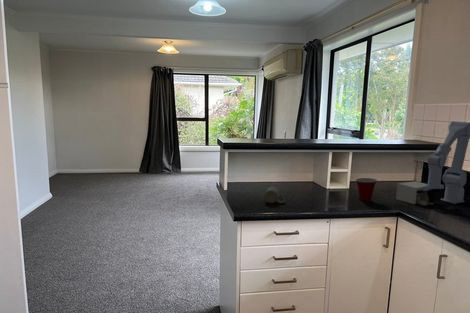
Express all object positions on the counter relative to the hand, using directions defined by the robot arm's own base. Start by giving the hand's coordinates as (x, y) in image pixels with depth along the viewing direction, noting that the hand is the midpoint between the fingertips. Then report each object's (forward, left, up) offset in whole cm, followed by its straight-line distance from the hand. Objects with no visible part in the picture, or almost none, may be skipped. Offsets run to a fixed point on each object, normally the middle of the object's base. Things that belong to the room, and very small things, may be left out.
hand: (431, 202), depth 170 cm
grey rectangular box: (0, -10, -1) cm, 10 cm away
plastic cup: (+26, -21, -2) cm, 34 cm away
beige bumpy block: (0, -6, -2) cm, 6 cm away
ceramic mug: (+75, -36, -2) cm, 84 cm away
